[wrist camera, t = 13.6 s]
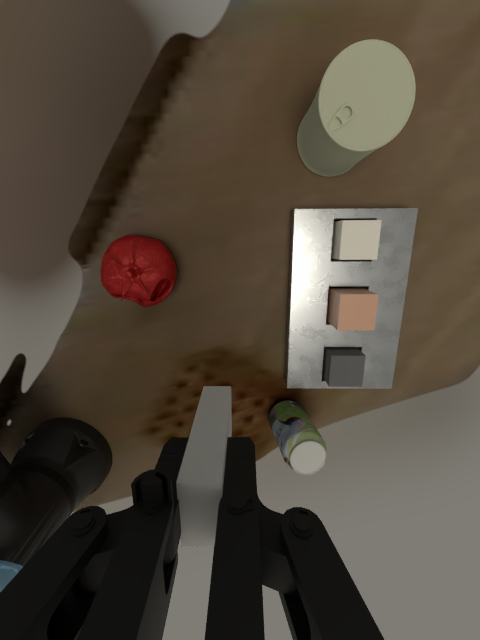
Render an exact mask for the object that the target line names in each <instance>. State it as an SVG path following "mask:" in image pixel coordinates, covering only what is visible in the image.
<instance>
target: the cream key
mask: <svg viewBox="0 0 480 640" xmlns="http://www.w3.org/2000/svg"><path fill="white" fill-rule="evenodd" d="M381 221H382V220H342V221H337V222H334V223H333V236H332V249H331V258H333V259H338V260H377V256H378V247H379V239H380V230H381Z"/></svg>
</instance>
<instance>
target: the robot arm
mask: <svg viewBox="0 0 480 640" xmlns="http://www.w3.org/2000/svg"><path fill="white" fill-rule="evenodd" d="M231 432H232V416H231V386H204V387H203V391H202V394H201V398H200V401H199V405H198V408H197V412H196V415H195V419H194V422H193V426H192V429H191V433H190V436H189V438H175V437H172V438H171V439H170V440H169V441H168V442H167V443H166V444H165V445H164V447H163V449H162V452H161V455H160V457H159V459H158V463H157V464H156V467H155V469H154V470H149V471H146V472H144V473H142V474H140V475H139V476H138V477H136V478H135V479H134V481H133V482H132V484H131V488H132V496H133V503H134V505H133V506H131V507H130V508H128V509H125V510H122V511H119V512H115V513H112V514H108V515H106V513H105V510H104V509H102V508H101V507H99V506H89V507H85V508H82V509H80V510H78V511H76V512H75V513H73V514H72V515H71V513H72V511H73V510H74V509H75V508H76V507H77V506H78V505H79V504H80V503H81V502H82V501H83V500H84V499H85V498H87V497H88V496H89V495H90V494H92V493H93V492H94V491H96V490H97V489H98V488H99V487H100V486H101V484H102V483H103V481H104V480H105V478H106V476H107V475H108V473H109V471H110V468H111V464H112V455H111V451H110V448H109V446H108V444H107V442H106V440H105V439H104V438H103V437H102V435H101V434H100V433H99V432H98V431H96V430H95V429H94V428H92V427H91V426H89V425H87V424H85V423H83V422H80V421H77V420H73V419H66V418H59V419H53V420H49V421H46V422H44V423H42V424H41V425H39V426H38V427H37V428H36V429H34V430H33V431H32V432H31V433H30V434H29V435H28V436H27V437H26V438H25V440H24V441H23V443H22V444H21V446H20V449H19V450H18V452H17V454H16V455H15V457H14V459H13V461H12V463H11V465H10V463H9V462H8V461H7V460H6V458H5V457H4V456H3V454H2V453H1V452H0V640H162V637H163V632H164V627H165V622H166V617H167V613H168V608H169V603H170V598H171V593H172V588H173V584H174V579H175V574H176V569H177V564H178V554H177V549H178V544H179V539H181V546H214V555H213V565H212V575H211V584H210V594H209V604H208V614H207V623H206V632H205V640H265V639H264V619H263V618H264V617H263V596H262V585H265V586H267V587H269V588H272V589H274V590H276V591H279V595H280V598H281V602H282V605H283V608H284V611H285V615H286V618H287V621H288V625H289V628H290V631H291V635H292V638H293V640H384V638H383V636H382V634H381V633H380V631H379V629H378V627H377V625H376V623H375V621H374V619H373V617H372V616H371V614H370V612H369V610H368V608H367V606H366V605H365V602H364V601H363V599H362V597H361V595H360V593H359V591H358V589H357V587H356V585H355V584H354V582H353V580H352V578H351V576H350V574H349V572H348V570H347V569H346V567H345V565H344V563H343V561H342V559H341V557H340V555H339V554H338V552H337V550H336V548H335V546H334V544H333V542H332V540H331V539H330V537H329V535H328V533H327V531H326V529H325V527H324V525H323V523H322V522H321V520H320V519H319V518H318V516H317V515H316V514H315V513H313V512H312V511H310V510H308V509H305V508H302V507H293V508H291V509H289V510H287V511H286V512H285V513H284V514H280V513H277V512H274V511H272V510H270V509H268V508H266V507H265V506H264V505H263V504H262V503H261V501H260V500H259V498H258V495H257V485H256V464H255V445H254V443H253V442H252V440H251V439H250V437H231ZM70 515H71V516H70ZM69 516H70V517H69Z"/></svg>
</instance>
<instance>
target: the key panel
mask: <svg viewBox="0 0 480 640" xmlns="http://www.w3.org/2000/svg"><path fill="white" fill-rule="evenodd" d="M417 212H418V208H374V209H294V210H292V211H291V228H290V254H289V279H288V305H287V330H286V356H285V382H286V386H287V388H355V389H392V382H393V376H394V369H395V362H396V355H397V348H398V341H399V335H400V328H401V321H402V314H403V307H404V300H405V294H406V287H407V280H408V273H409V266H410V259H411V253H412V246H413V239H414V232H415V225H416V218H417ZM334 220H382V221H381V230H380V239H379V247H378V256H377V260H331V249H332V236H333V223H334ZM329 286H360V288H364V289H367V290H369V291H372V292H374V293H377V294H379V295H378V304H377V312H376V320H375V328H374V330H336V329H335V328H334V327H333V326H332V325H331V324H330V323H329V322H328V321H327V319H326V315H327V302H328V289H329ZM324 347H357V348H358V349H359V350H360V351H361V352H362V353H363V354H364V355H366V358H365V367H364V375H363V384H362V387H329V386H328V384H327V383H326V381H325V379H324V378H323V376H322V368H323V355H324Z"/></svg>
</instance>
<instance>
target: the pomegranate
mask: <svg viewBox="0 0 480 640" xmlns="http://www.w3.org/2000/svg"><path fill="white" fill-rule="evenodd" d="M104 254H105V255H104V256H103V260H102V267H101V282H102V285H103V286H104V287H105V288H106V290H107V292H109V293H110V295H112V296H113V297H115V298H122V299H123V298H124V299H129V300H132V301H134V302H136V303H138V304H139V305H140V306H142V307H148V306H153V305H156V304H158V303H159V302H161V301H163V300H164V299H165V298H166V297H167V296H168V295H169V294H170V293H171V291H172V289H173V287H174V284H175V282H176V278H177V266H176V263H175V261H174V259H173V257H172V255H171V253H170V252H169V250H168V249H167V248H166V247H165V245H164V244H163V243H162V242H161V241H160V240H157V239H153V238H148V237H143V236H138V235H126V236H123V237H121V238H118V239H117V240H115V241H114V242H112V243H111V245H110V246H109V248H108V249H107V251H106V252H105V253H104ZM121 301H122V300H121Z"/></svg>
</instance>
